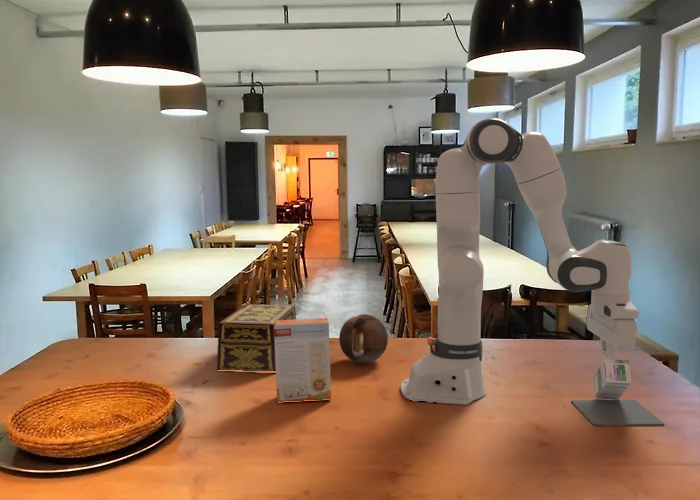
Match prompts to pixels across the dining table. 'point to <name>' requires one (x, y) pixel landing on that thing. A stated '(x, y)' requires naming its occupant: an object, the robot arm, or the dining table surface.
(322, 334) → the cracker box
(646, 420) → the mat
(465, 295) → the robot arm
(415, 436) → the dining table surface
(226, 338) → the decorative box
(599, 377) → the syrup box
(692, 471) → the dining table surface
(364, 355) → the wooden sphere
